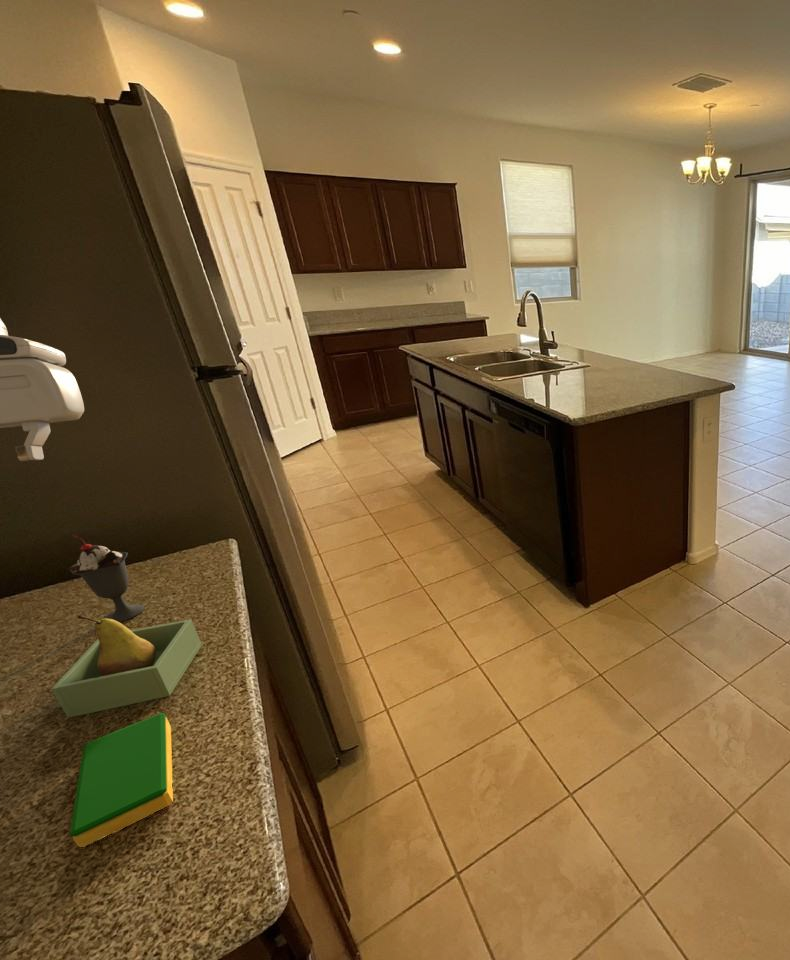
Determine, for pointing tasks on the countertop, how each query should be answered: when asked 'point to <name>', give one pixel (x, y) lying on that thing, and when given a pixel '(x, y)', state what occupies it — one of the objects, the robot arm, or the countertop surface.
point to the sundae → (106, 577)
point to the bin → (129, 672)
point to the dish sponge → (123, 779)
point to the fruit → (121, 648)
